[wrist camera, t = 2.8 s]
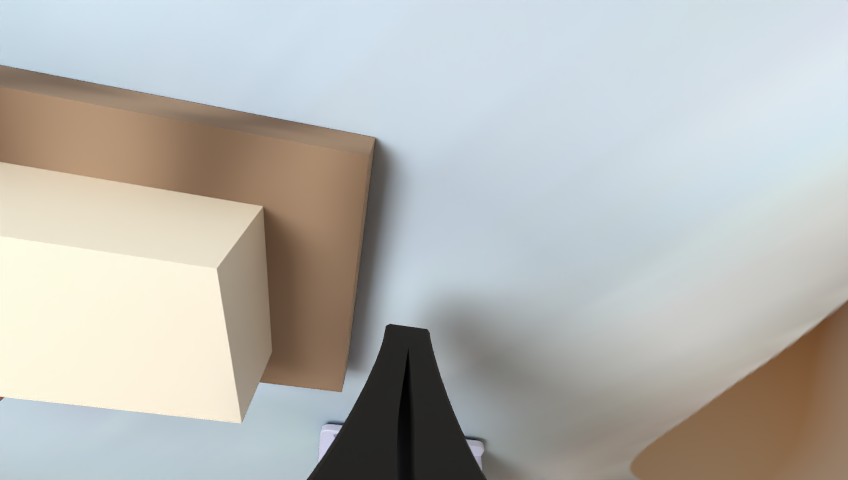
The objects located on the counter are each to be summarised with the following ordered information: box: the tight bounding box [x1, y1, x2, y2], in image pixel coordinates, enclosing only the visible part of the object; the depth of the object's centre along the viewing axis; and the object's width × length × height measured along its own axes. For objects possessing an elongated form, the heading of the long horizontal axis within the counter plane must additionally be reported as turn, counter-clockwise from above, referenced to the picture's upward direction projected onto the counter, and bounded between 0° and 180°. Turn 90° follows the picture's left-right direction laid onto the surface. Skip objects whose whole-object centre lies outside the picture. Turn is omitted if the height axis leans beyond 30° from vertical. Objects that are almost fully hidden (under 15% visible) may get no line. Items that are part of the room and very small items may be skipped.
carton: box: [0, 162, 272, 423], centre depth 12 cm, size 8×7×3 cm
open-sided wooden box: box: [0, 65, 375, 401], centre depth 12 cm, size 22×12×4 cm, turn 79°
